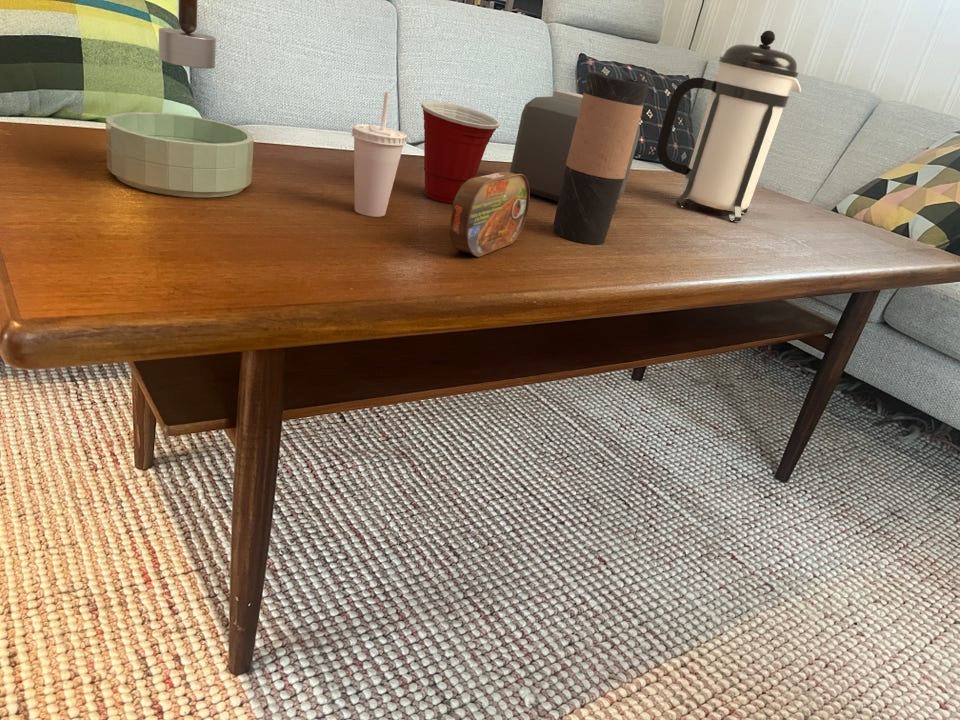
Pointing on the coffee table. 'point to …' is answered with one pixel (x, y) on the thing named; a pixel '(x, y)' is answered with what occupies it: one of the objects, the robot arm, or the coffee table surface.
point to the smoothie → (375, 164)
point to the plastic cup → (453, 146)
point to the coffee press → (733, 125)
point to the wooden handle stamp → (187, 41)
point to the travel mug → (598, 157)
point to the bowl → (178, 154)
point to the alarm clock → (550, 142)
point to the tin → (489, 212)
